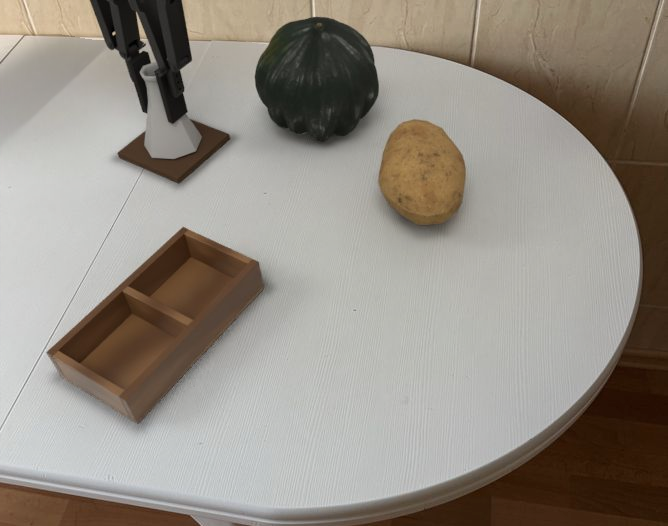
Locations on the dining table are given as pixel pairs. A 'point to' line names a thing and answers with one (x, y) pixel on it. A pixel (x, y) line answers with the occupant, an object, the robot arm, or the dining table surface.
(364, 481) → the dining table surface
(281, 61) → the squash
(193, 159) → the coaster
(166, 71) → the robot arm
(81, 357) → the wooden divided tray
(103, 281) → the dining table surface
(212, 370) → the dining table surface
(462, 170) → the potato
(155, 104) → the flask
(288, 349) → the dining table surface
